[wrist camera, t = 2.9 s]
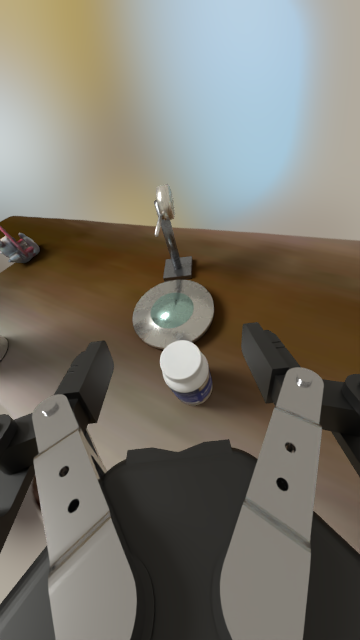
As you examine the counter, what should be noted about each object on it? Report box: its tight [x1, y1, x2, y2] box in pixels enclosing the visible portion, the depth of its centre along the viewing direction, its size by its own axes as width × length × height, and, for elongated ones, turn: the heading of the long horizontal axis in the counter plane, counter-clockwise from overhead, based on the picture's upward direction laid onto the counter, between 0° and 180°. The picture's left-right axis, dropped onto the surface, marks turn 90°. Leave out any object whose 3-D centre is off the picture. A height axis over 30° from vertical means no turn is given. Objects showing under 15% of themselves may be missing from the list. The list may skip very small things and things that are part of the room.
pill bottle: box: [160, 340, 213, 405], centre depth 26 cm, size 6×6×10 cm
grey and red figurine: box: [0, 226, 40, 263], centre depth 61 cm, size 11×11×12 cm
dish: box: [133, 280, 214, 350], centre depth 37 cm, size 15×15×2 cm
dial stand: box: [154, 184, 192, 281], centre depth 37 cm, size 6×10×17 cm, turn 176°
